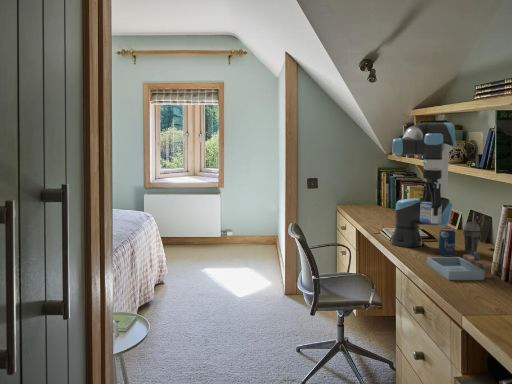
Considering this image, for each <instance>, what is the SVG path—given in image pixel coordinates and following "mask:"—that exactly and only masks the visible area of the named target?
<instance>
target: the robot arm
mask: <svg viewBox="0 0 512 384" xmlns="http://www.w3.org/2000/svg"><path fill="white" fill-rule="evenodd" d="M456 144H457V140H456V129H455V124H454V123H452V122H444V121H443V122H422V123H421V122H420V123H417V124H414V125H412V126H409V127H408V128H406V130H405V131H404V132H403V136H402V138H400V137H399V138H394V139H393V140H392V146H391V148H392V149H391V150H392V154H393V155H395V156H423V161H422V165H423V171H422V179H426V181H423V187H422V189H423V190H422V196H421V197H422V198H421V199H420V198H416V197H414V198H404V199H399V200H397V201H396V204H395V222H394V223H395V224H394V225H395V226H394V227H395V228H394V231H393V233H392V236H391V239H390V241H391V242H390V243H391V245H394V246H398V247H404V248H418V247H421V246H422V245H423V238H422V235H421V232H420V225H421V226H433V227H446V226H449V224H450V221H451V216H452V212H453V203H452V202H451V201H450V198H449V197H448V195H447V194H448V182H449V181H448V178H449V177H448V175H449V159H450V152H451V151H452V150H453V147H455V146H456ZM421 202H430V203H432V207H431V208H432V209H431V223H425V222H420V205H421ZM441 204H442V212H441V223H438V208H439V207H441ZM433 223H438V224H433Z"/></svg>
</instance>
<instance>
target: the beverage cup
mask: <svg viewBox="0 0 512 384" xmlns="http://www.w3.org/2000/svg"><path fill="white" fill-rule="evenodd" d="M474 219H475V212H474V211H473V212H472V219H471V220H472V221H468V222H467V223H465V224H464V227H463V229H462V230H463V234H464V253H465V254H464V255H472V256H474V252H478V251H477V250H478V244H479V237H480V234H481V228H480V225H479V224H478V223H477V222H475V221H474Z"/></svg>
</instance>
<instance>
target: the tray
mask: <svg viewBox="0 0 512 384" xmlns="http://www.w3.org/2000/svg"><path fill="white" fill-rule="evenodd" d="M426 266H427V267H429V268H430V269H431V270H433V271H434V272H436V273H437V274H438V275H440V276H442V277H443V278H445V279H446V281H478V280H479V281H484V280H485V278H484V275H485V271H484V270H482V269H480V268H479V267H477V266H475V265H473V264H471V263H469V262H468V261H466V260H464V259H463V257H460V256H444V257H443V256H437V257H434V256H431V257H429V256H428V257H426Z"/></svg>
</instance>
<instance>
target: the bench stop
mask: <svg viewBox="0 0 512 384" xmlns="http://www.w3.org/2000/svg"><path fill="white" fill-rule="evenodd" d="M480 256H481V255H480V252H479V251H477V252H474V256H472V255H465V254H462V259H464V260H466V261H468V262H469V263H471V264H473V265H475V266H477V267H479V268H480V269H482V270H484V271H485V275H484V279H491V278H492V264H490V263H487V262H485V261H483V260H482V259H480V258H481V257H480Z"/></svg>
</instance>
